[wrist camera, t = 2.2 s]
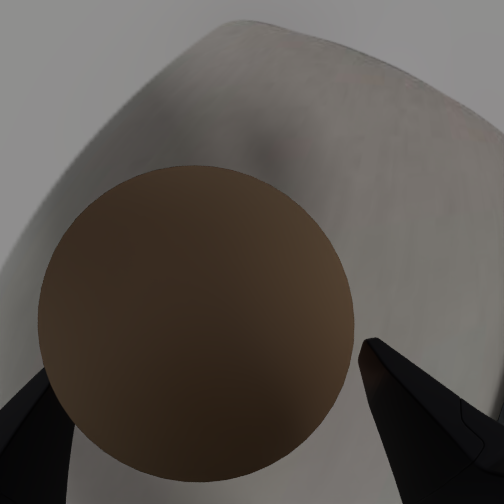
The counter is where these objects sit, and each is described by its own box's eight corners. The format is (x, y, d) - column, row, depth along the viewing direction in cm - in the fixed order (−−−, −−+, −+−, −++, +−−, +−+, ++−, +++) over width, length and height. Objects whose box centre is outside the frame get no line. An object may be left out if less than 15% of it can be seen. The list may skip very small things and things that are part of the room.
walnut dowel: (241, 388, 16) (274, 520, 3) (170, 356, 17) (4, 377, 3) (272, 318, 18) (390, 237, 4) (201, 287, 18) (127, 132, 5)
